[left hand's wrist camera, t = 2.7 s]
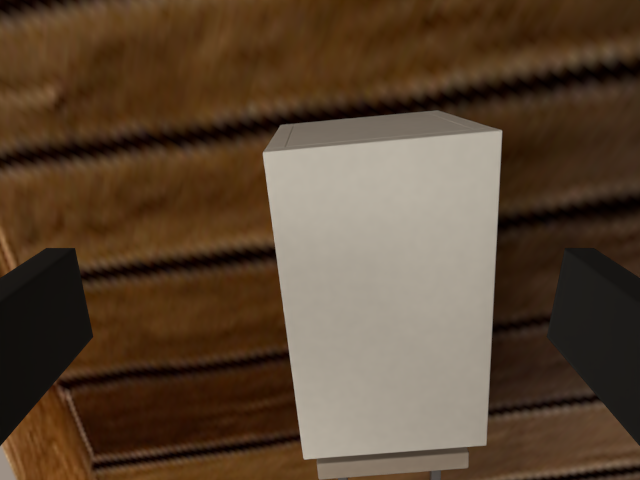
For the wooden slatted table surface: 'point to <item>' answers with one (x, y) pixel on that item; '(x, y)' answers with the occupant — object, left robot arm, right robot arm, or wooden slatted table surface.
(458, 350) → the cabinet
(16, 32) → the wooden slatted table surface
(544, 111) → the wooden slatted table surface
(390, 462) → the drawer
